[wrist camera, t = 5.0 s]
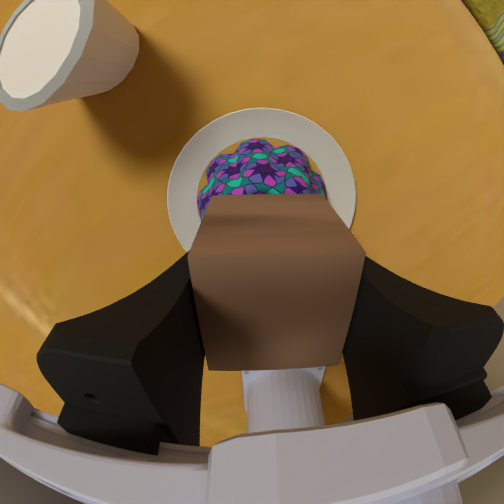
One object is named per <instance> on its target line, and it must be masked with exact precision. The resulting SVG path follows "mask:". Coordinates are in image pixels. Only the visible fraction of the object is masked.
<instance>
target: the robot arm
mask: <svg viewBox="0 0 504 504" xmlns="http://www.w3.org/2000/svg"><path fill="white" fill-rule="evenodd" d="M189 251H190V250H189ZM189 251H188V252H187V253H186V254H185V255H184V256H182V257H181V258H180V259H179V260H178V261H177V262H176V263H174V264H173V265H172V266H171V267H170V268H168V269H167V270H166V271H165V272H163V273H162V274H161V275H159V276H158V277H157V278H156V279H154V280H153V281H151V282H150V283H148V284H147V285H145V286H144V287H142V288H141V289H139V290H137V291H136V292H134V293H132V294H131V295H129V296H127V297H125V298H123V299H121V300H119V301H117V302H115V303H113V304H111V305H109V306H106V307H104V308H102V309H99V310H97V311H94V312H92V313H89V314H86V315H83V316H80V317H77V318H74V319H70V320H67V321H64V322H60V323H56V324H55V326H54V327H53V329H52V330H51V332H50V333H49V335H48V337H47V338H46V340H45V341H44V343H43V345H42V346H41V348H40V350H39V351H38V353H37V363H38V366H39V369H40V371H41V373H42V374H43V376H44V377H45V379H46V380H47V381H48V383H49V384H50V385H51V386H52V388H53V389H54V390H55V391H56V393H57V394H58V395H59V396H60V397H61V399H62V400H63V401H64V402H65V404H64V406H63V408H62V411H61V413H60V416H59V417H57V416H54V415H51V414H49V413H46V412H44V411H41V410H39V409H36V408H34V407H33V406H32V404H31V403H30V402H29V401H28V400H27V399H26V398H25V397H24V396H23V395H22V394H21V393H19V392H18V391H16V390H14V389H11V388H9V387H7V386H5V385H3V384H0V457H1V458H2V459H4V460H5V461H7V462H8V463H9V464H11V465H12V466H14V467H15V468H17V469H18V470H20V471H22V472H23V473H25V474H27V475H28V476H30V477H32V478H34V479H35V480H37V481H39V482H41V483H43V484H45V485H46V486H48V487H50V488H52V489H55V490H56V491H58V492H60V493H63V494H65V495H67V496H69V497H71V498H74V499H76V500H78V501H81V502H83V503H86V504H463V503H462V498H461V495H460V491H459V487H458V484H457V483H459V482H461V481H462V480H465V479H466V478H468V477H470V476H472V475H473V474H475V473H476V472H478V471H480V470H481V469H483V468H485V467H486V466H488V465H489V464H491V463H492V462H494V461H495V460H497V459H498V458H500V457H501V456H502V455H504V385H503V386H501V387H500V388H498V389H496V390H494V391H492V392H489V390H488V388H487V386H486V384H485V382H484V381H483V380H484V379H485V378H486V377H487V373H486V371H485V370H484V368H483V367H484V366H485V364H486V363H487V361H488V360H489V358H490V357H491V355H492V354H493V352H494V351H495V349H496V348H497V346H498V344H499V342H500V340H501V338H502V335H503V331H504V323H503V320H502V319H501V318H500V316H499V315H498V314H497V313H496V311H495V310H494V309H493V308H492V307H490V306H486V305H481V304H476V303H471V302H466V301H462V300H459V299H455V298H452V297H448V296H445V295H442V294H439V293H436V292H434V291H431V290H429V289H426V288H423V287H421V286H419V285H416V284H414V283H412V282H410V281H408V280H406V279H404V278H402V277H400V276H398V275H396V274H394V273H393V272H391V271H389V270H388V269H386V268H384V267H382V266H381V265H379V264H378V263H376V262H374V261H373V260H371V259H370V258H368V257H367V256H365V259H364V264H363V269H362V274H361V279H360V284H359V288H358V293H357V297H356V301H355V305H354V310H353V314H352V317H351V321H350V325H349V329H348V333H347V336H346V340H345V343H344V347H343V350H342V353H343V356H344V361H345V366H346V371H347V376H348V381H349V387H350V394H351V401H352V409H353V418H354V421H350V422H344V423H338V424H331V425H326V424H325V419H324V413H323V408H322V402H321V397H320V392H319V389H320V386H321V382H322V379H323V375H324V372H325V368H326V366H324V367H313V368H299V369H283V370H255V371H242V380H243V392H244V403H245V411H246V412H247V433H245V434H239V435H237V436H234V437H231V438H228V439H226V440H223V441H220V442H218V443H216V444H215V445H213V446H212V447H201V446H200V407H201V390H202V377H203V365H204V358H205V351H204V346H203V341H202V336H201V331H200V326H199V321H198V316H197V311H196V305H195V300H194V294H193V288H192V282H191V276H190V270H189V264H188V257H187V256H188V254H189Z"/></svg>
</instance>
